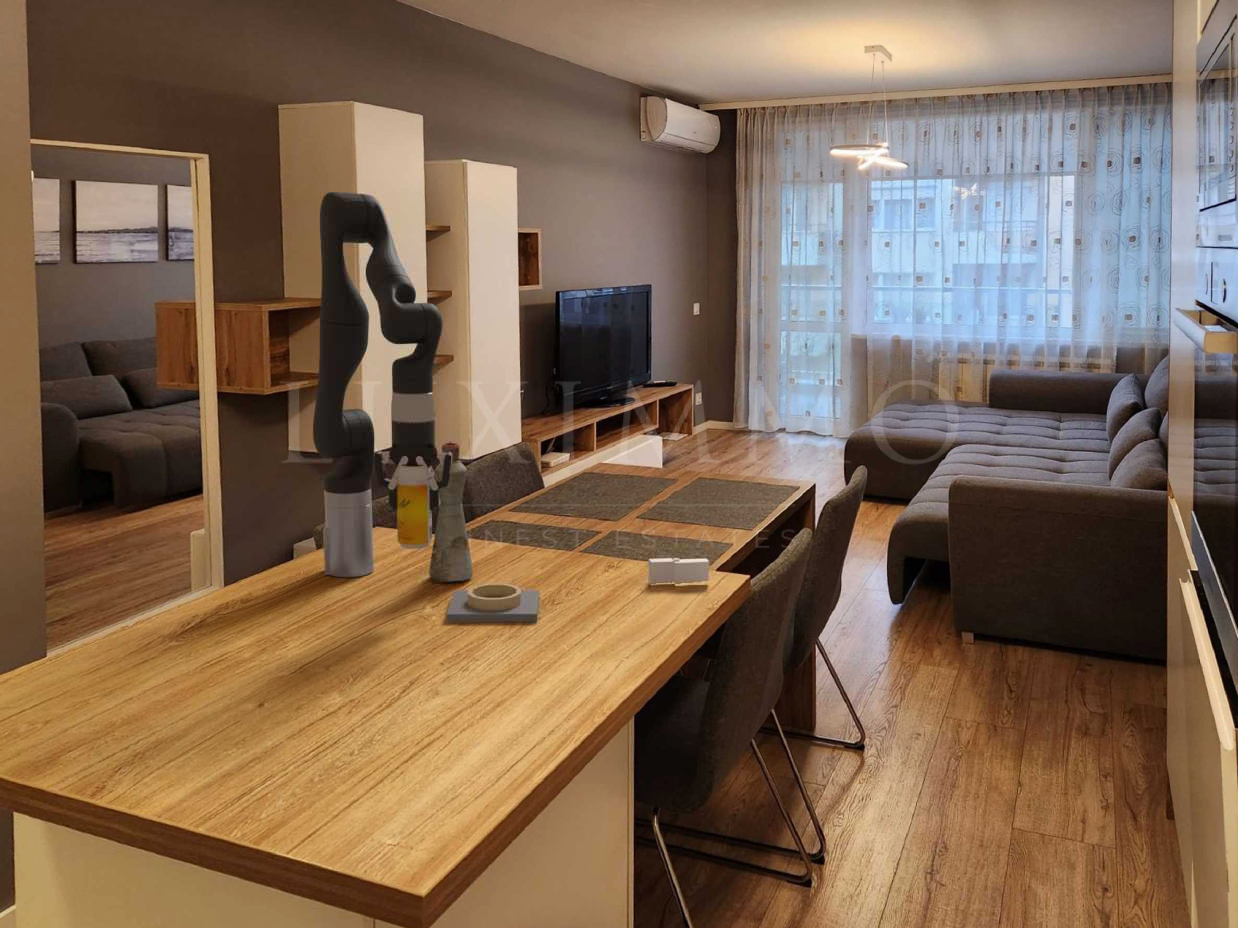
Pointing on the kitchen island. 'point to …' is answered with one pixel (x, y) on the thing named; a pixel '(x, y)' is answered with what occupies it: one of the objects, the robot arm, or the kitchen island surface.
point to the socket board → (494, 604)
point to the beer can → (413, 507)
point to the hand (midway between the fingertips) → (414, 509)
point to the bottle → (451, 526)
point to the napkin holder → (678, 570)
